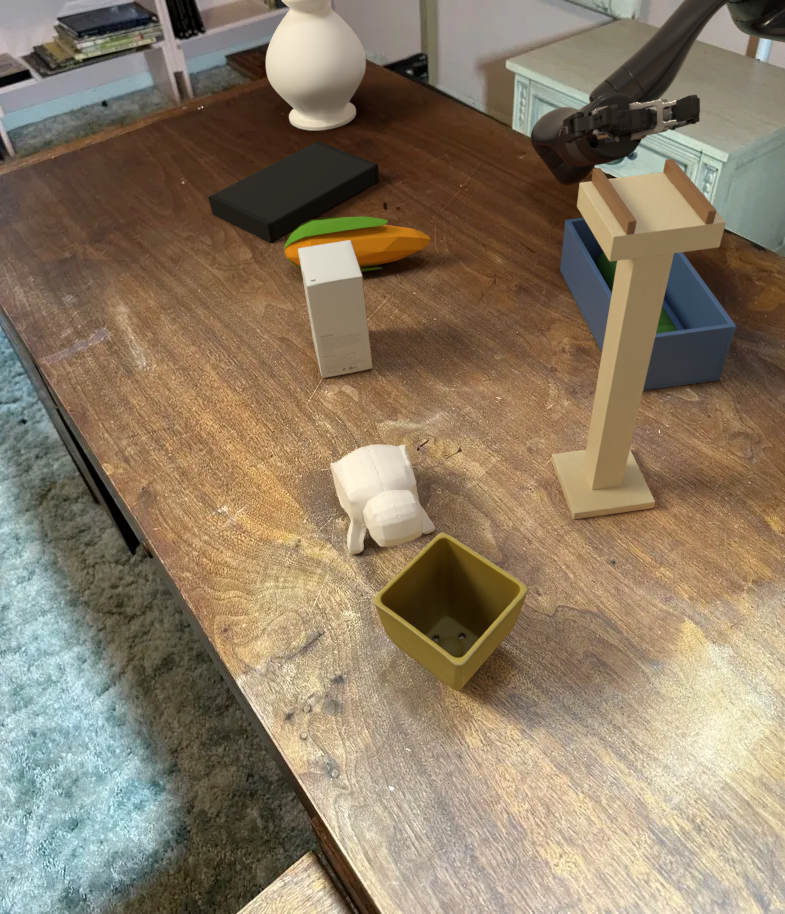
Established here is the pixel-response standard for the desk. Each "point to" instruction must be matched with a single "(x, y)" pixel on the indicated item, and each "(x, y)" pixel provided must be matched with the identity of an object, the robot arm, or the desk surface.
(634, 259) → the wooden cradle stand
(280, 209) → the external hard drive
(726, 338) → the open box
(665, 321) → the green cylinder
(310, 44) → the decorative vase
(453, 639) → the flower pot
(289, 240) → the corn
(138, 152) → the desk surface
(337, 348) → the small box
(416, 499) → the white animal figurine
